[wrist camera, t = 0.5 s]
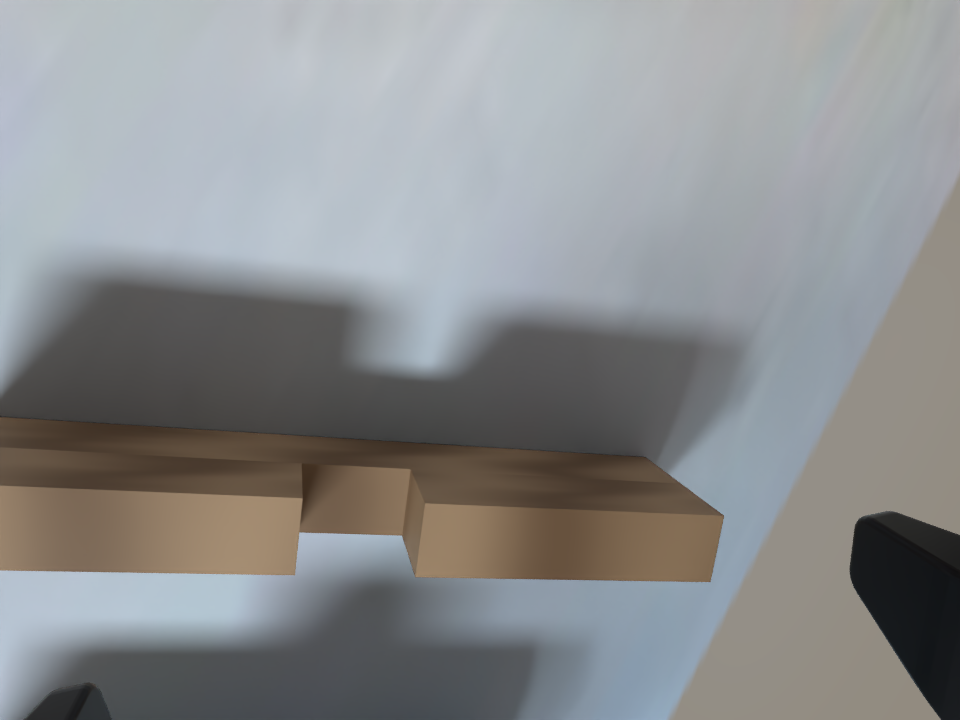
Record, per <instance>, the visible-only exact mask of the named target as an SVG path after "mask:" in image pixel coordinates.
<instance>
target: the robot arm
mask: <svg viewBox="0 0 960 720" xmlns="http://www.w3.org/2000/svg"><path fill="white" fill-rule="evenodd" d="M850 577H851V581H852V584H853V586H854V588H855V590H856V592H857V594H858V595H859V597H860V598H861V600H862V601H863V603H864V604H865V606H866V608H867V609H868V611H869V612H870V614H871V615H872V617H873V619H874V620H875V622H876V623H877V625H878V626H879V628H880V630H881V631H882V633H883V634H884V636H885V637H886V639H887V640H888V642H889V644H890V645H891V647H892V648H893V650H894V651H895V653H896V655H897V656H898V658H899V659H900V661H901V662H902V664H903V665H904V667H905V669H906V670H907V672H908V673H909V675H910V676H911V678H912V679H913V681H914V683H915V684H916V685H917V687H918V688H919V690H920V691H921V693H922V694H923V696H924V697H925V698H926V700H927V701H928V703H929V704H930V705H931V707H932V708H933V709H934V711H935V712H936V713H937V715H938V716H939V717H940V719H941V720H960V535H958V534H955V533H952V532H950V531H947V530H944V529H941V528H938V527H936V526H933V525H930V524H927V523H925V522H922V521H919V520H916V519H913V518H911V517H908V516H905V515H902V514H900V513H897V512H892V511H886V512H881V513H876V514H871V515H867V516H863V517H861V518H860V519H859V520H858V521H857V523H856V524H855V529H854V537H853V546H852V554H851V562H850ZM24 720H112V718H111V716H110V713H109V711H108V708H107V706H106V704H105V701H104V699H103V696H102V694H101V692H100V690H99V688H98V687H97V686H96V685H95V684H93V683H83V684H79V685H74V686H69V687H65V688H60V689H57V690H55V691H53V692H51V693H50V694H49V695H47V696H46V697H45V698H44V699H43V700H42V701H41V702H40V703H39V704H38V705H37V706H36V707H35V708H34V710H33V711H32V712H31V713H30V714H29V715H28V716H27V717H26V718H25V719H24Z"/></svg>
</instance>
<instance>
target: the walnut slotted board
mask: <svg viewBox="0 0 960 720" xmlns="http://www.w3.org/2000/svg"><path fill="white" fill-rule="evenodd" d="M723 519H724V515H722V514H721V513H720V512H718V511H717V510H716V509H714V508H713V507H712V506H710V505H709V504H707V503H706V502H705V501H703V500H702V499H701V498H699V497H698V496H697V495H695V494H694V493H693V492H691V491H690V490H689V489H687V488H686V487H685V486H683V485H682V484H681V483H679V482H678V481H677V480H675V479H674V478H673V477H671V476H670V475H669V474H667V473H666V472H665V471H663V470H662V469H661V468H659V467H658V466H657V465H655V464H654V463H652V462H651V461H650V460H648V459H647V458H646V457H635V456H619V455H603V454H586V453H570V452H554V451H538V450H522V449H506V448H490V447H474V446H458V445H442V444H426V443H410V442H394V441H378V440H362V439H346V438H330V437H313V436H297V435H281V434H265V433H249V432H233V431H217V430H201V429H185V428H169V427H153V426H137V425H121V424H105V423H89V422H73V421H57V420H40V419H24V418H8V417H0V570H11V571H72V572H133V573H193V574H254V575H295V569H296V559H297V549H298V539H299V532H305V533H338V534H371V535H402V537H403V540H404V543H405V546H406V549H407V552H408V556H409V559H410V562H411V565H412V568H413V571H414V574H415V577H436V578H496V579H557V580H618V581H678V582H711V577H712V572H713V567H714V562H715V557H716V553H717V548H718V543H719V538H720V533H721V528H722V524H723Z"/></svg>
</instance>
